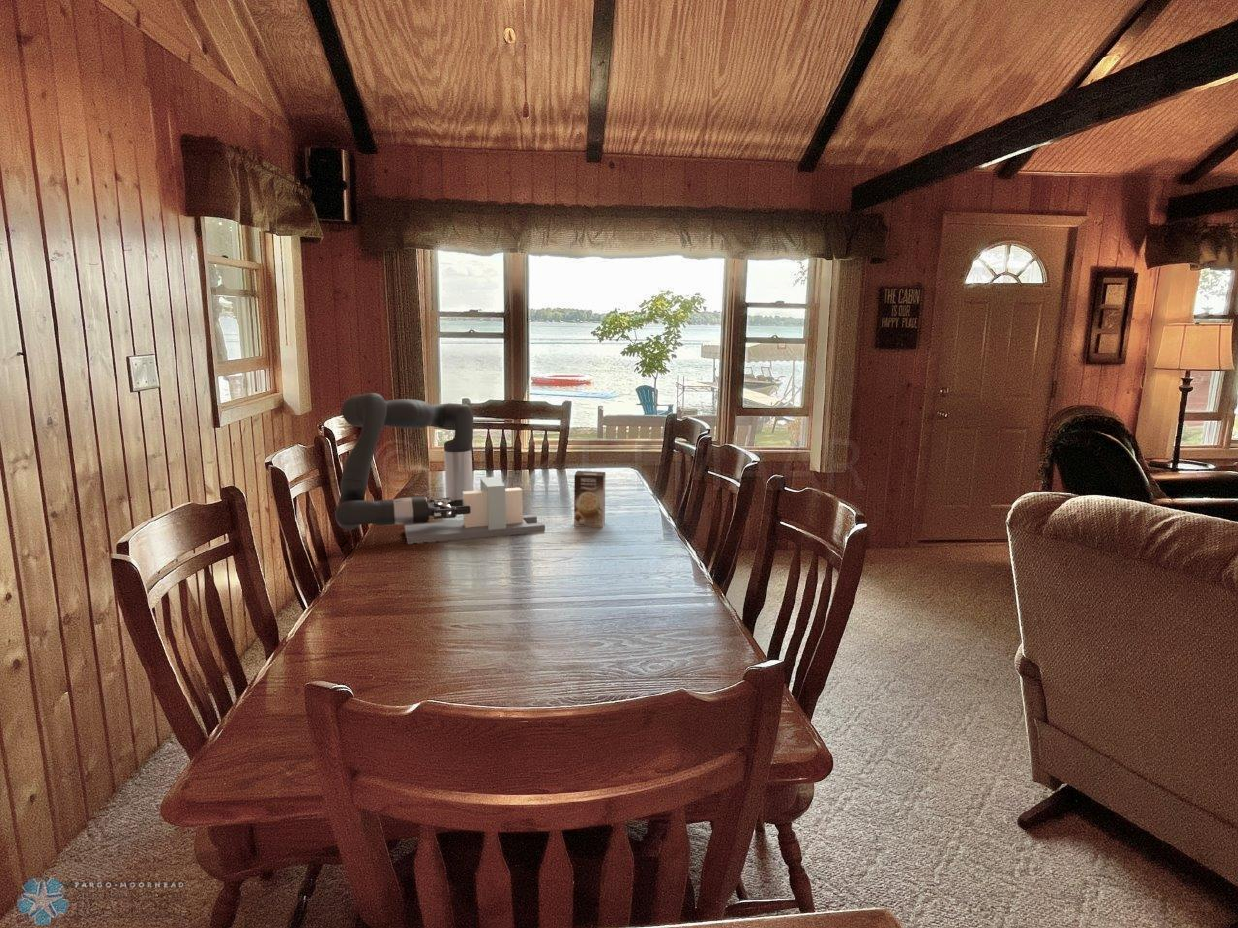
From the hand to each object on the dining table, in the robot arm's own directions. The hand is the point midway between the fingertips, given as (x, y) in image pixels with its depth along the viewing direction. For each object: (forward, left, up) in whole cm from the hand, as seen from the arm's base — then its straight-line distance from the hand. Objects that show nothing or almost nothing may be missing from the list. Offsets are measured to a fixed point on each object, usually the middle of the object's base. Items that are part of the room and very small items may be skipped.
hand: (468, 506), depth 211 cm
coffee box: (+3, +36, -8) cm, 37 cm away
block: (0, +7, -6) cm, 9 cm away
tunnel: (0, +7, -6) cm, 9 cm away
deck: (0, +2, -8) cm, 8 cm away
